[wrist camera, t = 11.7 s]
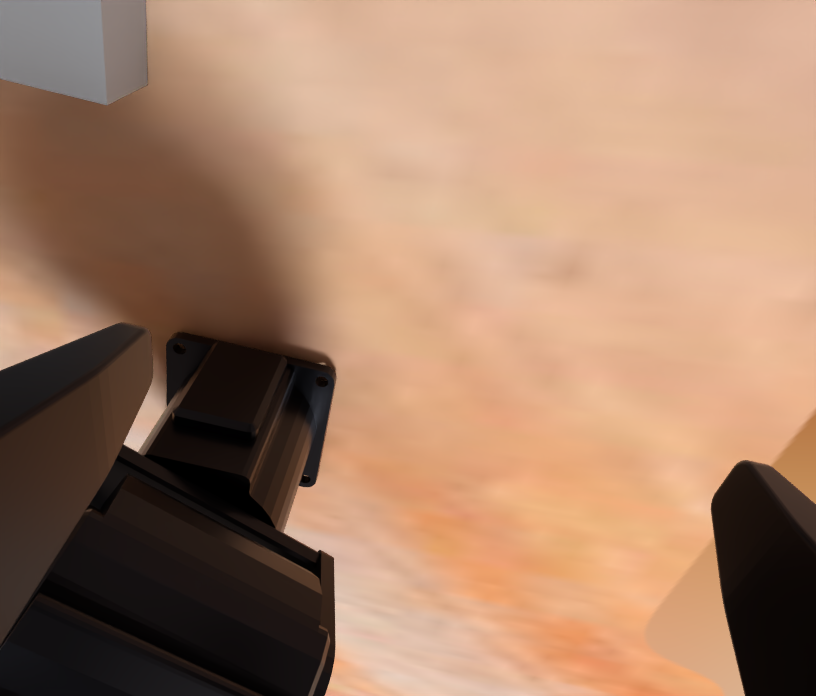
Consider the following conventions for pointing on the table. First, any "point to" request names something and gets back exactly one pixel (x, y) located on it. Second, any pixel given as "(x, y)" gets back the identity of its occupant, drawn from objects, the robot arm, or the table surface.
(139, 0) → the gray and yellow box
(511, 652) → the table surface
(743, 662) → the robot arm
